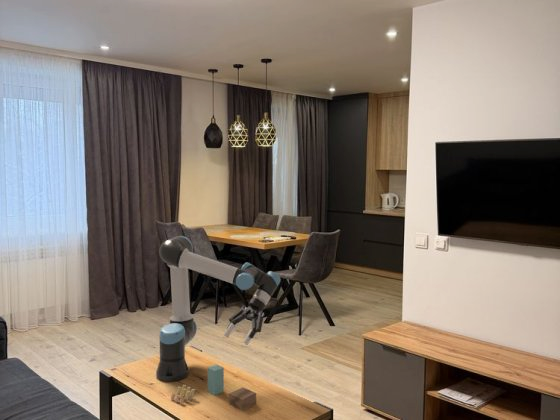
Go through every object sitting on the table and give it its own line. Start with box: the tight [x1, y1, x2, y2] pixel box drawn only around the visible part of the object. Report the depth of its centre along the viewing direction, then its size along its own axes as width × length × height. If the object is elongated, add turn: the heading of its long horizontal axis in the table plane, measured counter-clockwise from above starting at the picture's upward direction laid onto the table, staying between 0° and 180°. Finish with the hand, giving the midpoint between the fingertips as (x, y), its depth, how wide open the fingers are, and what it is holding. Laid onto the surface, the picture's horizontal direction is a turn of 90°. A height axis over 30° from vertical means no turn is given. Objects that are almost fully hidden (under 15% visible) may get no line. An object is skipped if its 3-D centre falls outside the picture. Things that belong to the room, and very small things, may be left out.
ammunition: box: [170, 384, 196, 406], centre depth 209 cm, size 5×7×8 cm
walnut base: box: [228, 386, 257, 412], centre depth 206 cm, size 8×8×5 cm
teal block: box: [207, 364, 225, 396], centre depth 217 cm, size 5×5×11 cm
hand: (235, 339), depth 223 cm, fingers open, 13 cm apart
